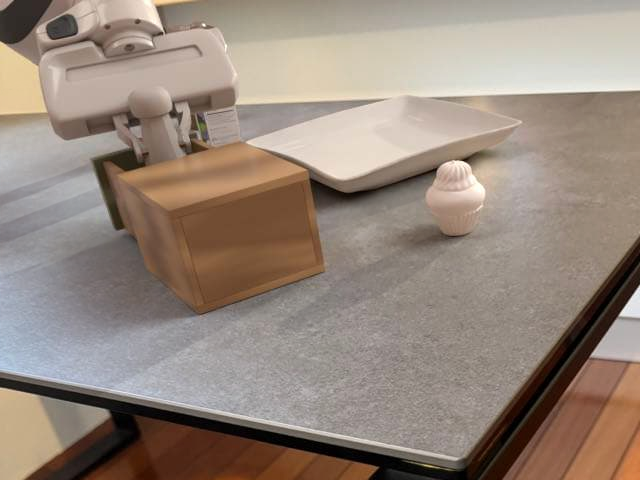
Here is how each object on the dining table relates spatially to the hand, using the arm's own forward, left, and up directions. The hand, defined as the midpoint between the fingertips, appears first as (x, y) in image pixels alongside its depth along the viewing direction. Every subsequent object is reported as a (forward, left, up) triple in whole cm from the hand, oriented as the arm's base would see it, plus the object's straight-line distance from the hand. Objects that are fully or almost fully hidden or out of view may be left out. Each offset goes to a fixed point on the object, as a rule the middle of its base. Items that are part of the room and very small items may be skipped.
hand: (164, 154), depth 86 cm
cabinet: (0, -13, -9) cm, 16 cm away
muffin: (+22, -22, -9) cm, 32 cm away
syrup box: (+18, +33, -9) cm, 39 cm away
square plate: (+30, +7, -9) cm, 32 cm away
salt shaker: (0, +1, -7) cm, 7 cm away
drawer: (0, +4, -8) cm, 9 cm away
